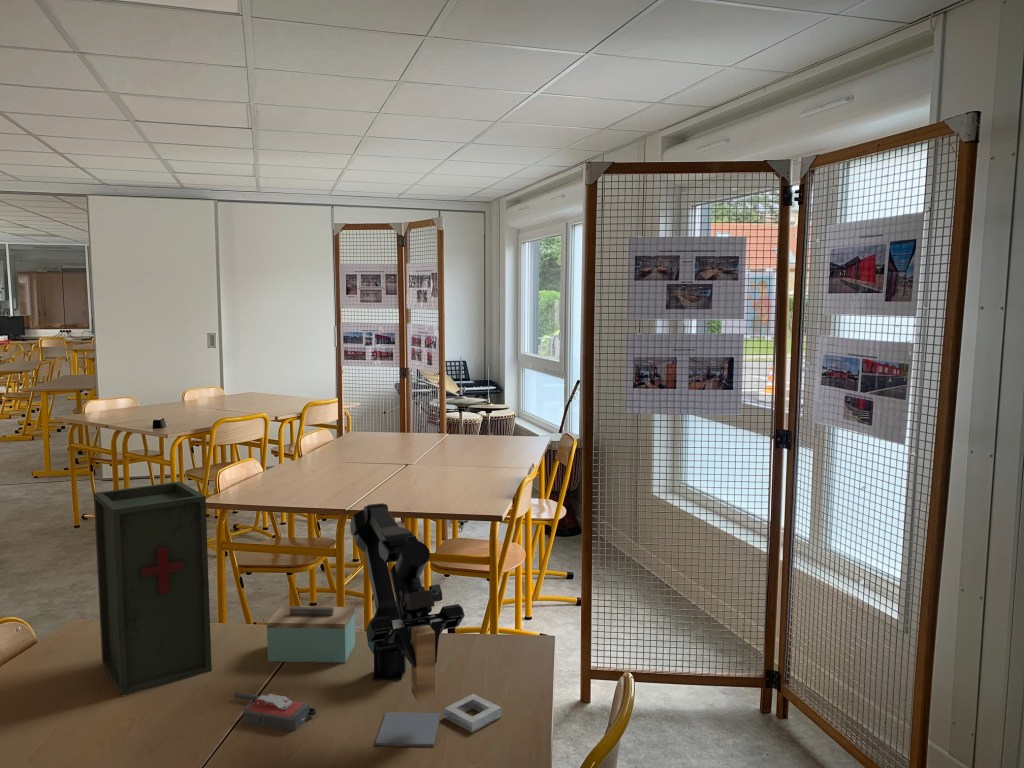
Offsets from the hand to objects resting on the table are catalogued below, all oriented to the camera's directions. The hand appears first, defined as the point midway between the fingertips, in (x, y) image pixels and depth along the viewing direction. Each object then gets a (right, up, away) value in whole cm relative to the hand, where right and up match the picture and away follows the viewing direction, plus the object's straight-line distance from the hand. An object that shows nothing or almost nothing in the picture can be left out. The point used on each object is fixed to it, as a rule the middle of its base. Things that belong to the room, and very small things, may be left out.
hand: (425, 665), depth 148 cm
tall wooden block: (-1, -6, +2) cm, 7 cm away
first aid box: (-64, -11, +27) cm, 70 cm away
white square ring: (+9, -13, +7) cm, 17 cm away
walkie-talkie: (-33, -13, +8) cm, 36 cm away
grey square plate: (-3, -13, +2) cm, 14 cm away
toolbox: (-31, -10, +36) cm, 48 cm away
